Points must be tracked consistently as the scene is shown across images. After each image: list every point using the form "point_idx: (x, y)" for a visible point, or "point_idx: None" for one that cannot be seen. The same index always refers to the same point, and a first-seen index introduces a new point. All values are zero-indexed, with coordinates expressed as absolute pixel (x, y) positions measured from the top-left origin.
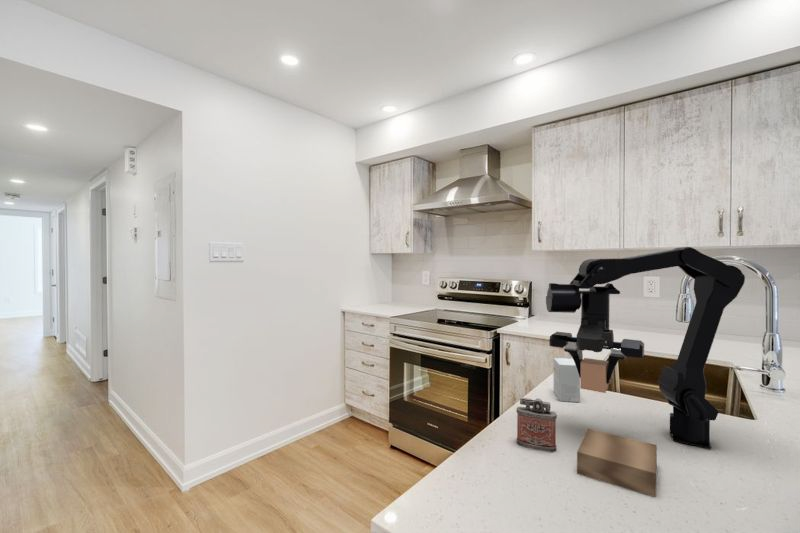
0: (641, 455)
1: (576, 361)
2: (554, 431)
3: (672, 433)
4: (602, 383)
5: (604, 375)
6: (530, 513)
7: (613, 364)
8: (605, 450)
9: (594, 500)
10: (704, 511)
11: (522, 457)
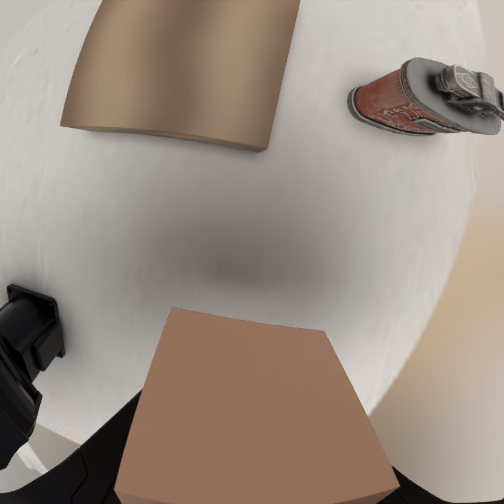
0: (120, 25)
1: (403, 488)
2: (379, 80)
3: (53, 322)
4: (178, 349)
5: (147, 402)
6: None
7: (51, 492)
8: (221, 1)
9: None
10: (72, 7)
11: (409, 51)
